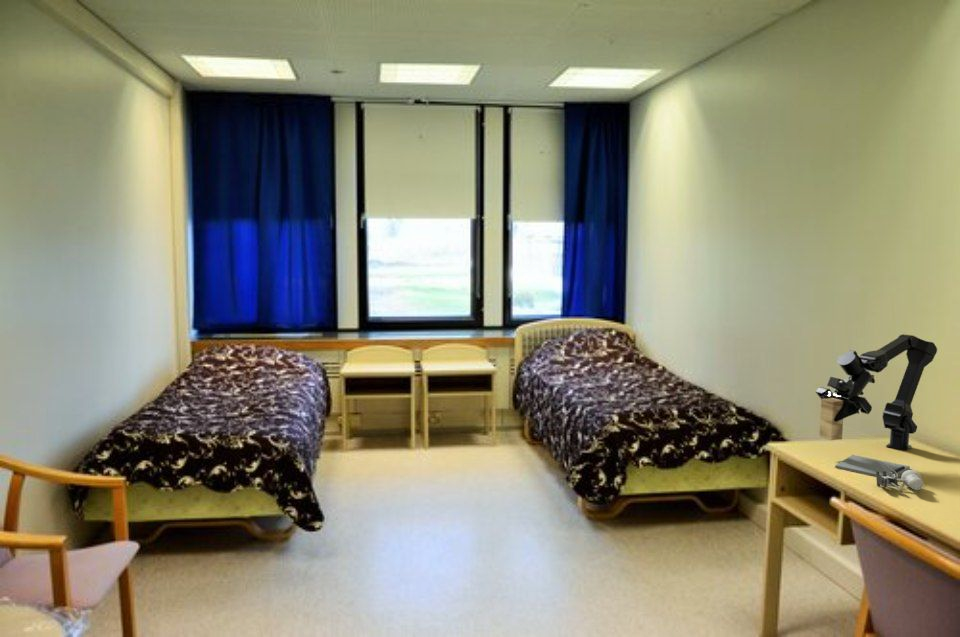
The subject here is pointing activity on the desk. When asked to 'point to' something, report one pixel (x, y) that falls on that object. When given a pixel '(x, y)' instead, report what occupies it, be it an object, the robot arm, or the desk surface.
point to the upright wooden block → (830, 419)
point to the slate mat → (869, 466)
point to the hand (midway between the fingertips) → (828, 419)
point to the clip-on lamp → (908, 478)
